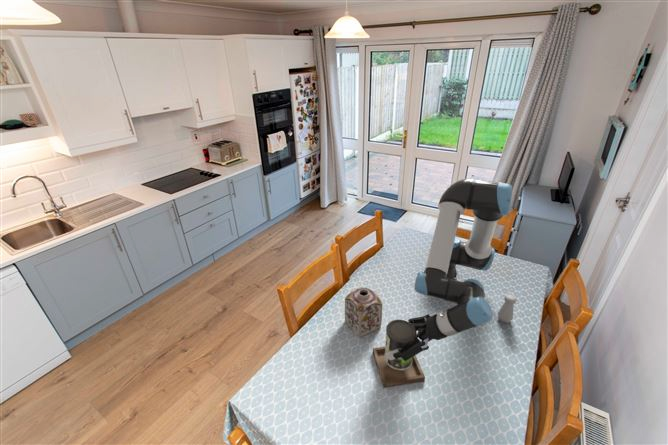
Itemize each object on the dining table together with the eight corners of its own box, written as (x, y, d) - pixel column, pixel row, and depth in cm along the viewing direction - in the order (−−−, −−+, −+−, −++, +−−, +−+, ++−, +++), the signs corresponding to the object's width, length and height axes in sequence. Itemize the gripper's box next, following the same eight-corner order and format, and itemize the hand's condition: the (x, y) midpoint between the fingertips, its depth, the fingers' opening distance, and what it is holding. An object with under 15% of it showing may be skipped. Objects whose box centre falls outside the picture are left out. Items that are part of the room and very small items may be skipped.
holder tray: (372, 352, 122) (372, 348, 120) (409, 347, 123) (409, 343, 122) (383, 387, 108) (383, 383, 107) (424, 381, 110) (425, 377, 109)
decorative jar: (381, 327, 133) (384, 295, 124) (359, 339, 128) (360, 306, 119) (365, 310, 142) (366, 279, 133) (344, 320, 137) (343, 288, 128)
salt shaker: (513, 325, 132) (520, 302, 126) (498, 324, 133) (505, 300, 127) (509, 315, 137) (516, 293, 131) (495, 314, 138) (501, 291, 132)
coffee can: (418, 362, 112) (423, 334, 105) (395, 375, 108) (398, 346, 101) (400, 342, 120) (403, 315, 113) (378, 353, 116) (380, 325, 109)
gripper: (438, 294, 108) (391, 316, 121) (431, 343, 90) (376, 363, 103) (452, 309, 109) (403, 329, 122) (447, 361, 91) (391, 378, 103)
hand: (391, 345), depth 112 cm, fingers closed on coffee can, 10 cm apart
